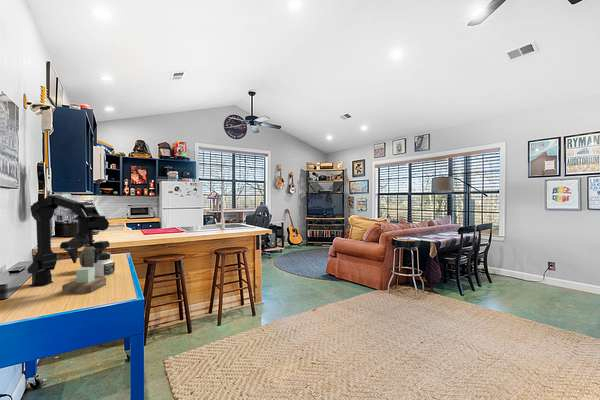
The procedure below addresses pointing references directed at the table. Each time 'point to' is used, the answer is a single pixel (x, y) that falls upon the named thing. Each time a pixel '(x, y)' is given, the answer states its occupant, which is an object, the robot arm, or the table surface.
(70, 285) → the walnut block
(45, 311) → the table surface
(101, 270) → the medicine bottle
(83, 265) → the decorative egg
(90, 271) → the sage pill box
